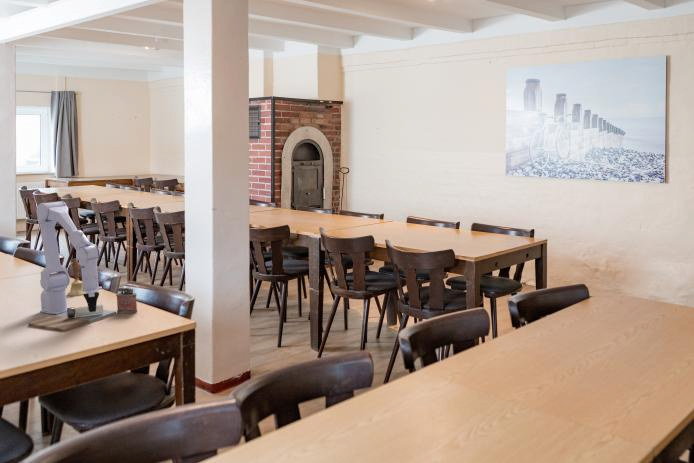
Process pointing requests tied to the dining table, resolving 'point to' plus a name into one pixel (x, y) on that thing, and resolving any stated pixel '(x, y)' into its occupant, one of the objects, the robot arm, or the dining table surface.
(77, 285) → the hand bell
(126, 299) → the red tin can
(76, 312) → the lock bar
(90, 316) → the door plate
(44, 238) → the robot arm
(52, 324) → the plate
